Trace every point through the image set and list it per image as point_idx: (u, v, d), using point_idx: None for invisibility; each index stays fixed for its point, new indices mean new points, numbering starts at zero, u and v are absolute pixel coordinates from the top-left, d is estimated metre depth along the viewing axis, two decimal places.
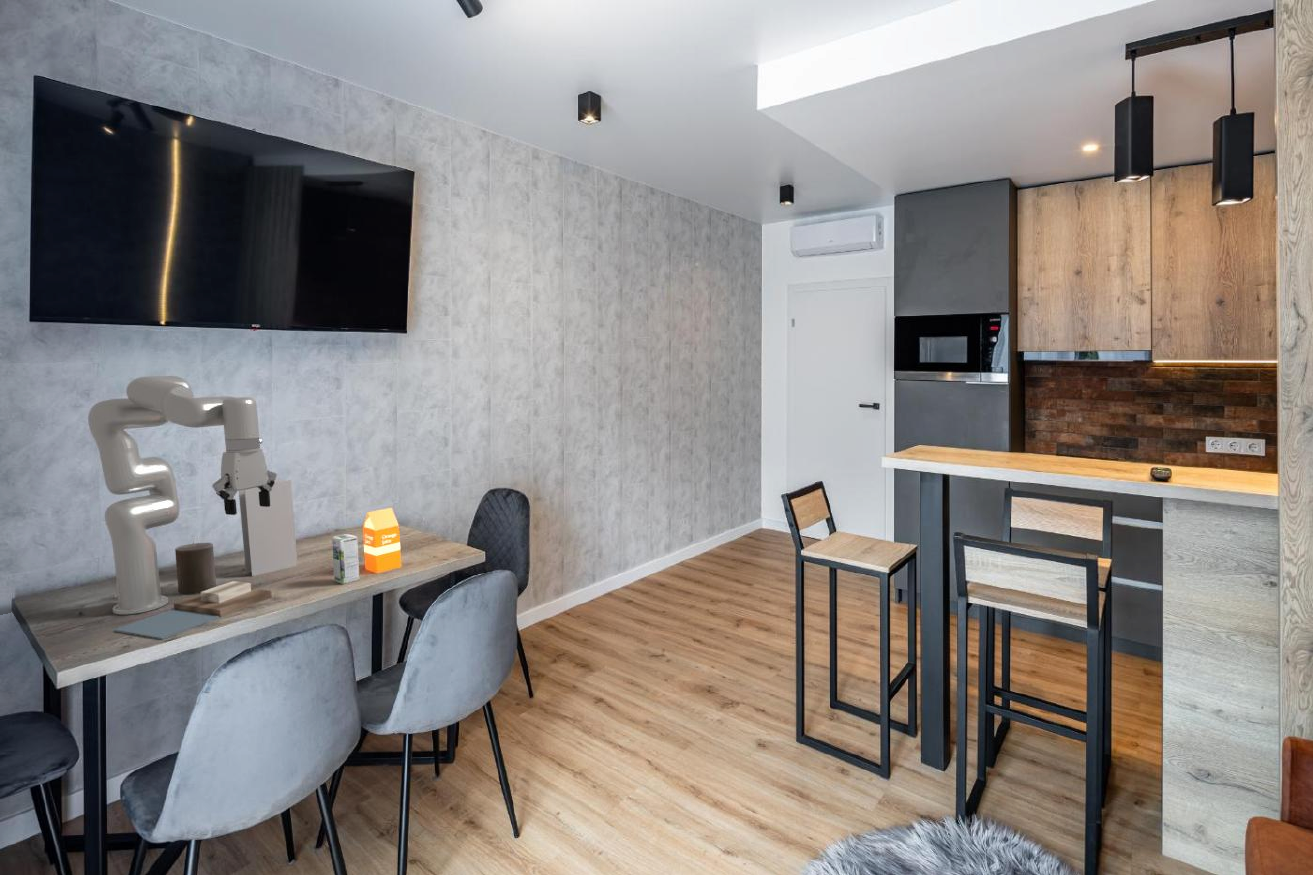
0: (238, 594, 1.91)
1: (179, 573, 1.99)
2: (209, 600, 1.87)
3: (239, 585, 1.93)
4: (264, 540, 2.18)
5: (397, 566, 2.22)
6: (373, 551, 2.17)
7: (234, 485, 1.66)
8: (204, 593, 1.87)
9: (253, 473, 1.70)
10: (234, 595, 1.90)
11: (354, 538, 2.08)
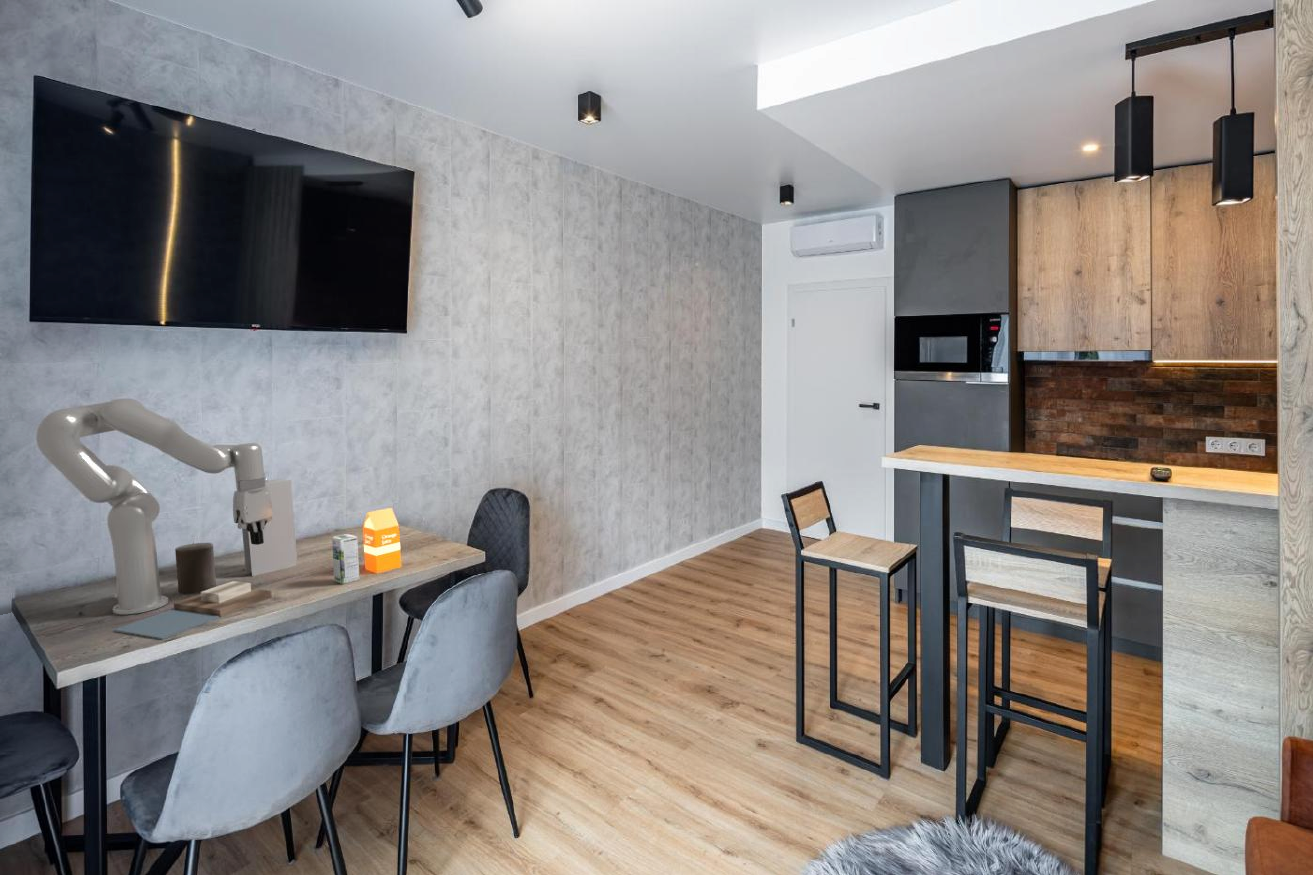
0: (238, 594, 1.91)
1: (179, 573, 1.99)
2: (209, 600, 1.87)
3: (239, 585, 1.93)
4: (264, 540, 2.18)
5: (397, 566, 2.22)
6: (373, 551, 2.17)
7: (244, 519, 1.94)
8: (204, 593, 1.87)
9: (260, 508, 1.98)
10: (234, 595, 1.90)
11: (354, 538, 2.08)
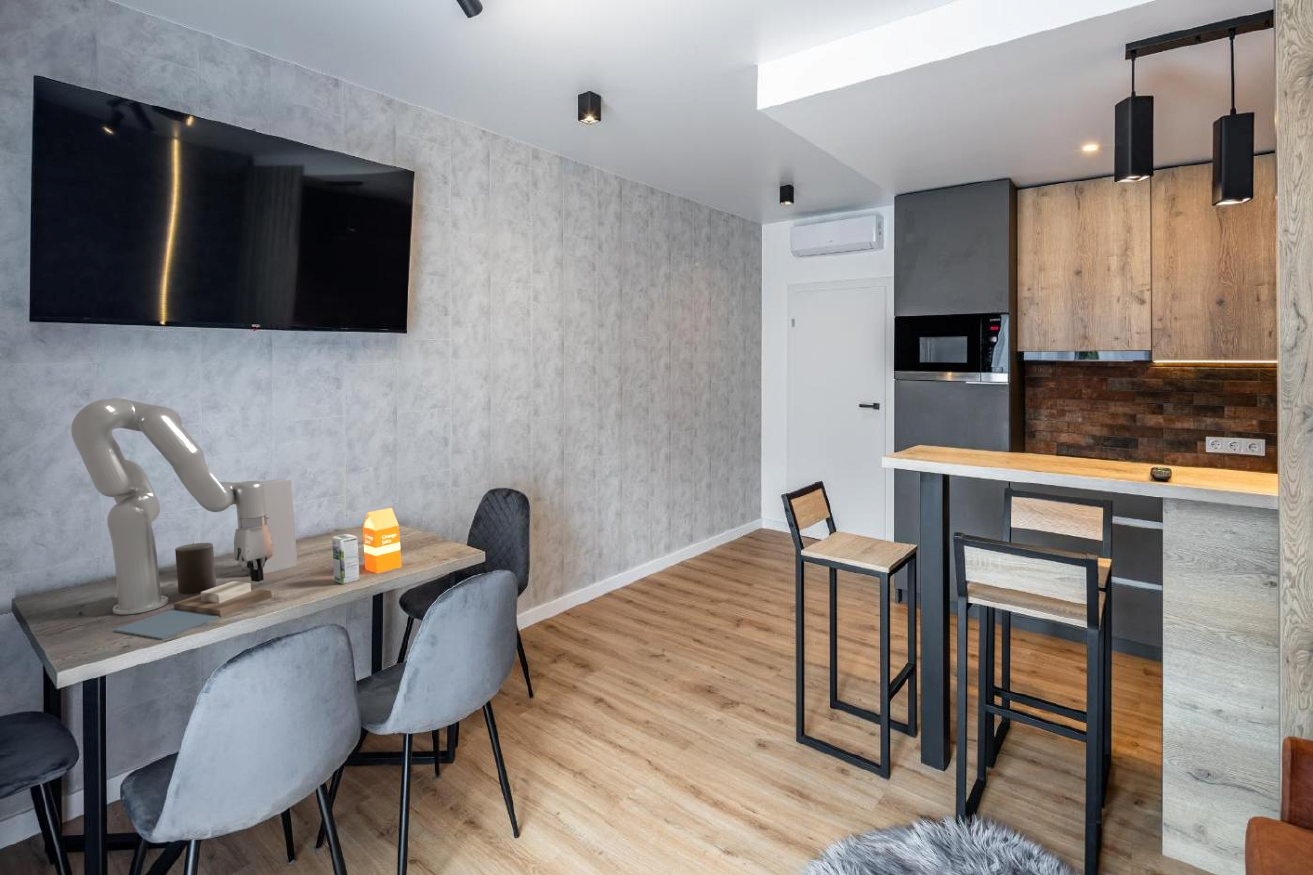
0: (238, 594, 1.91)
1: (179, 573, 1.99)
2: (209, 600, 1.87)
3: (239, 585, 1.93)
4: None
5: (397, 566, 2.22)
6: (373, 551, 2.17)
7: (245, 557, 1.95)
8: (204, 593, 1.87)
9: (261, 545, 1.99)
10: (234, 595, 1.90)
11: (354, 538, 2.08)
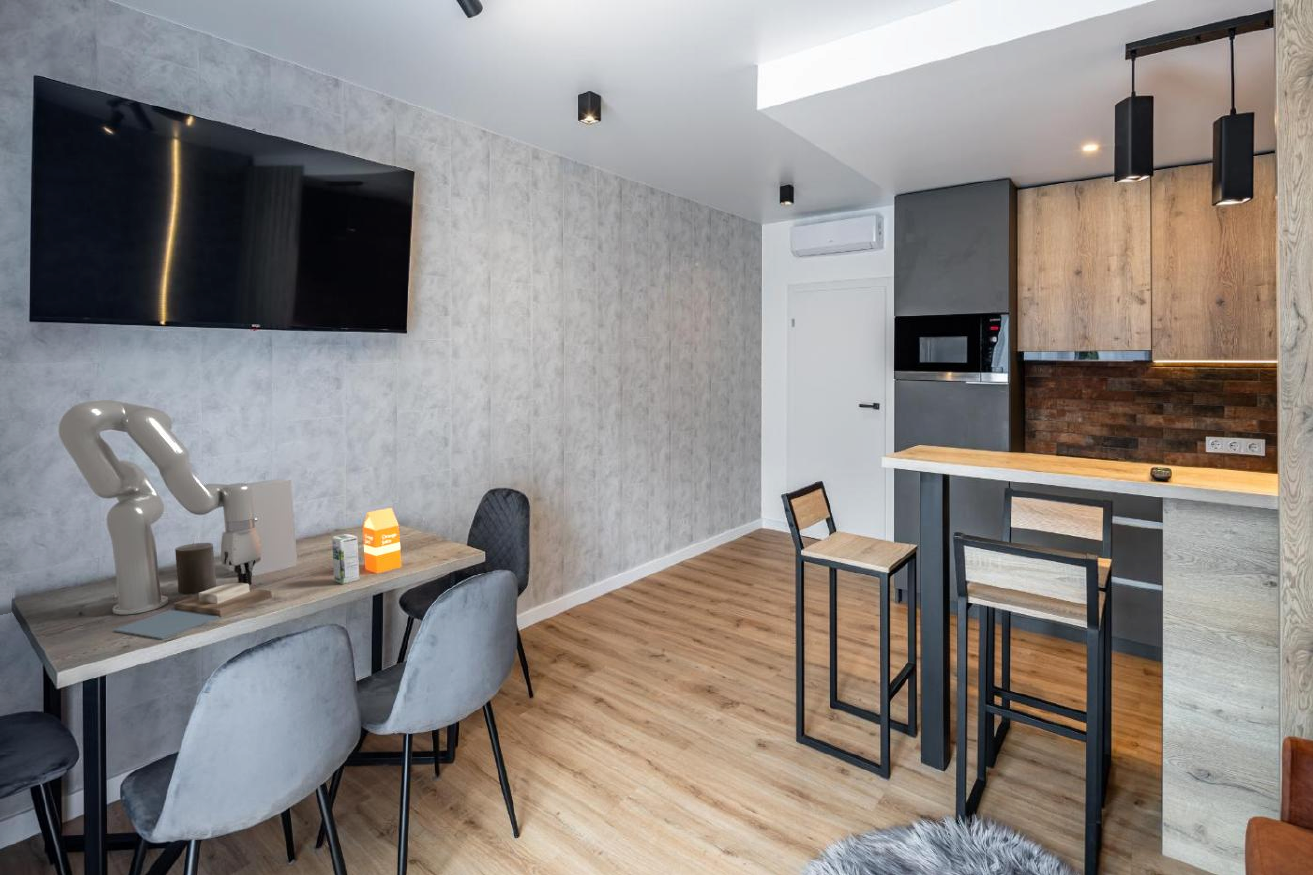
0: (236, 595, 1.91)
1: (179, 573, 1.99)
2: (207, 601, 1.86)
3: (238, 585, 1.93)
4: (264, 540, 2.18)
5: (397, 566, 2.22)
6: (373, 551, 2.17)
7: (232, 561, 1.91)
8: (202, 594, 1.87)
9: (249, 549, 1.95)
10: (232, 596, 1.89)
11: (354, 538, 2.08)
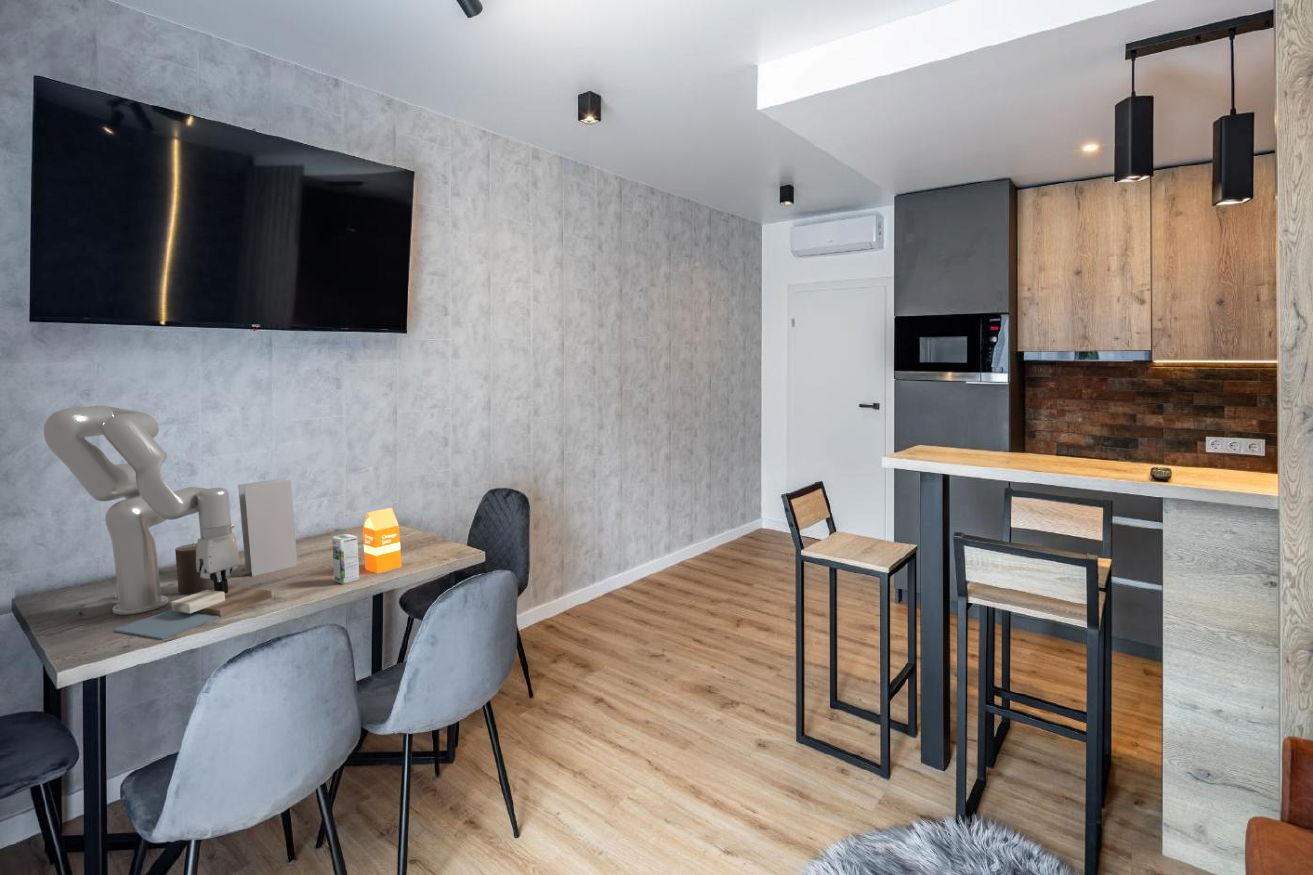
0: (211, 604, 1.84)
1: (179, 573, 1.99)
2: (180, 610, 1.79)
3: (213, 594, 1.86)
4: (264, 540, 2.18)
5: (397, 566, 2.22)
6: (373, 551, 2.17)
7: (208, 569, 1.84)
8: (175, 603, 1.80)
9: (225, 556, 1.88)
10: (206, 605, 1.82)
11: (354, 538, 2.08)
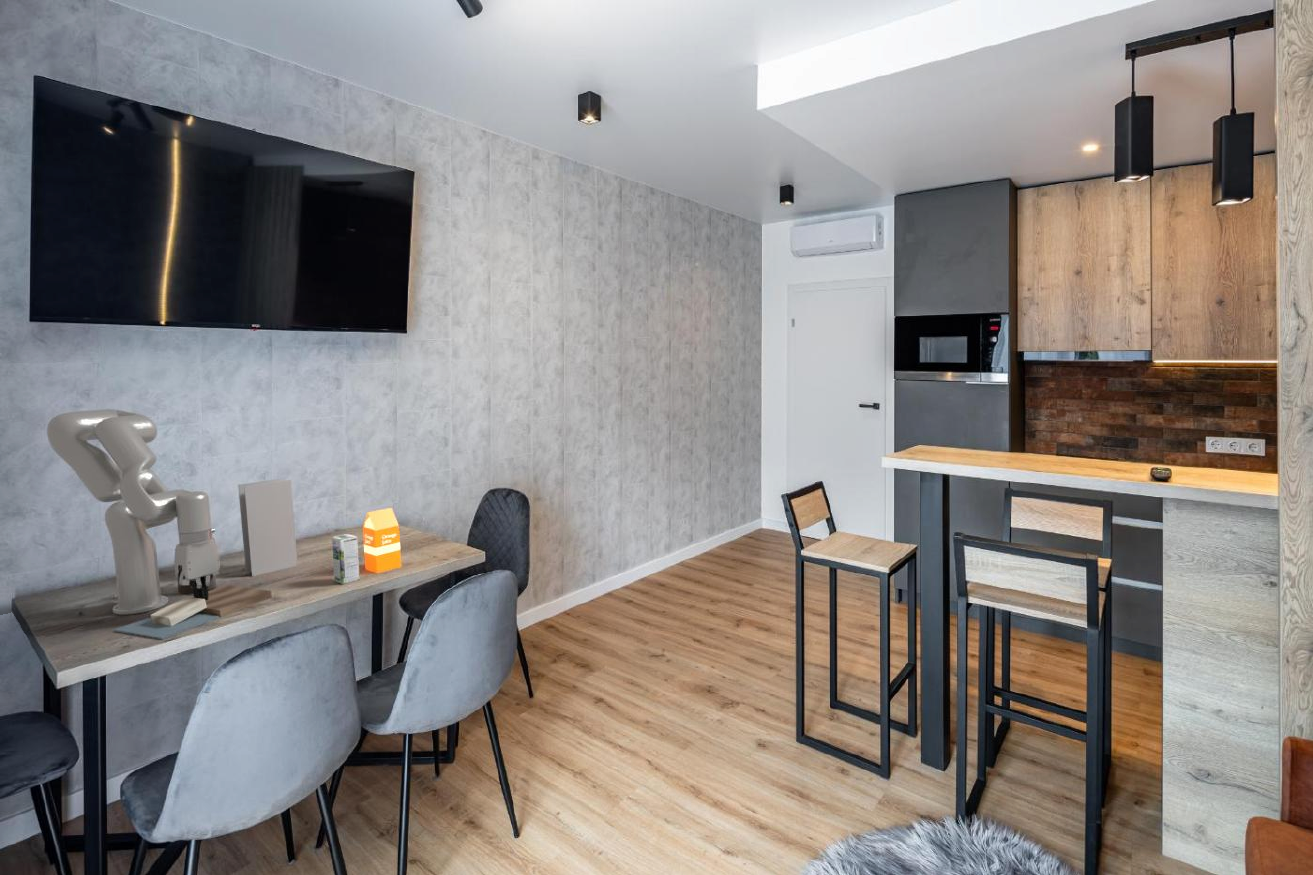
0: (192, 613, 1.78)
1: None
2: (161, 623, 1.74)
3: (193, 602, 1.80)
4: (264, 540, 2.18)
5: (397, 566, 2.22)
6: (373, 551, 2.17)
7: (187, 575, 1.78)
8: (154, 616, 1.74)
9: (205, 562, 1.83)
10: (188, 615, 1.77)
11: (354, 538, 2.08)
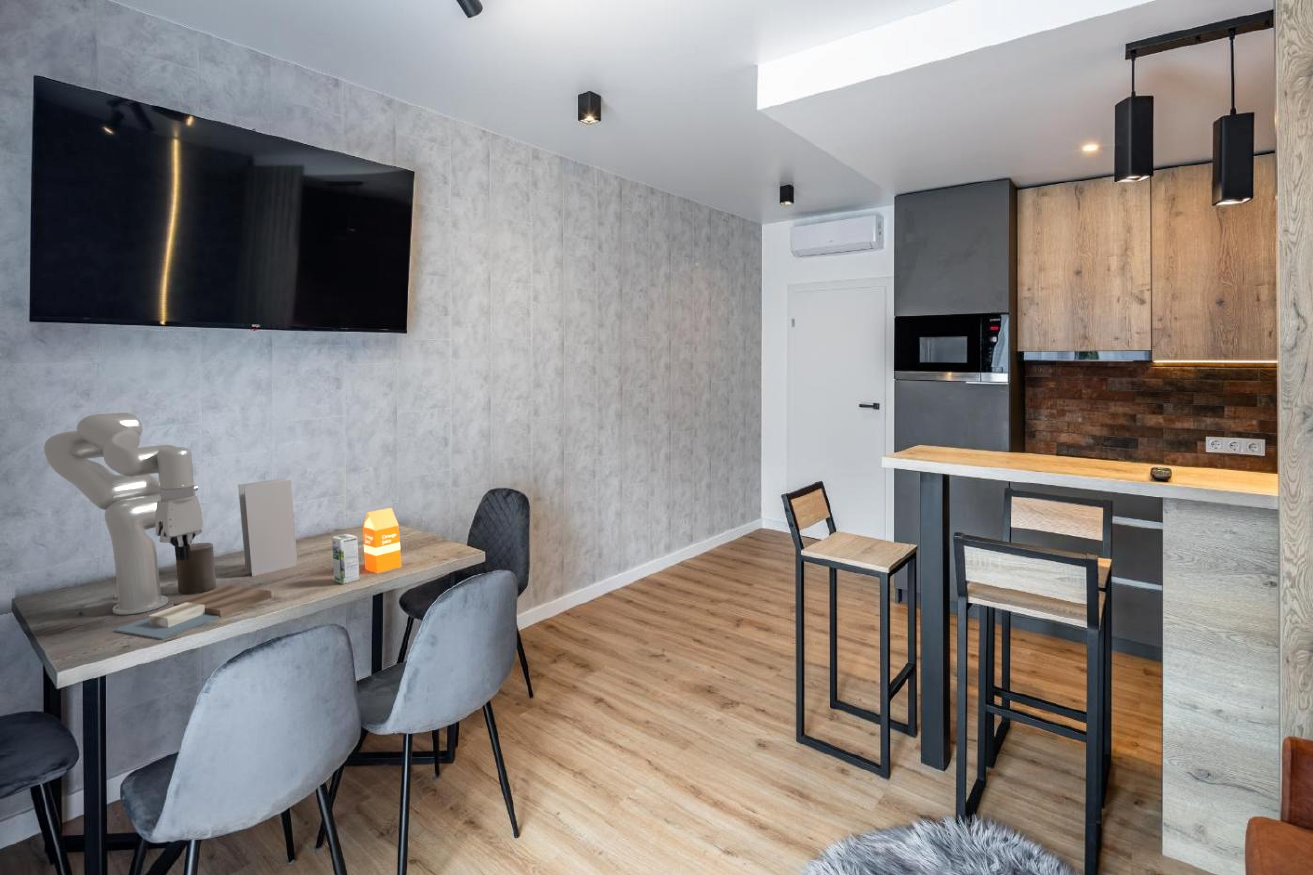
0: (190, 617, 1.78)
1: (179, 573, 1.99)
2: (158, 624, 1.73)
3: (192, 607, 1.80)
4: (264, 540, 2.18)
5: (397, 566, 2.22)
6: (373, 551, 2.17)
7: (167, 532, 1.74)
8: (152, 616, 1.74)
9: (187, 520, 1.78)
10: (186, 618, 1.77)
11: (354, 538, 2.08)
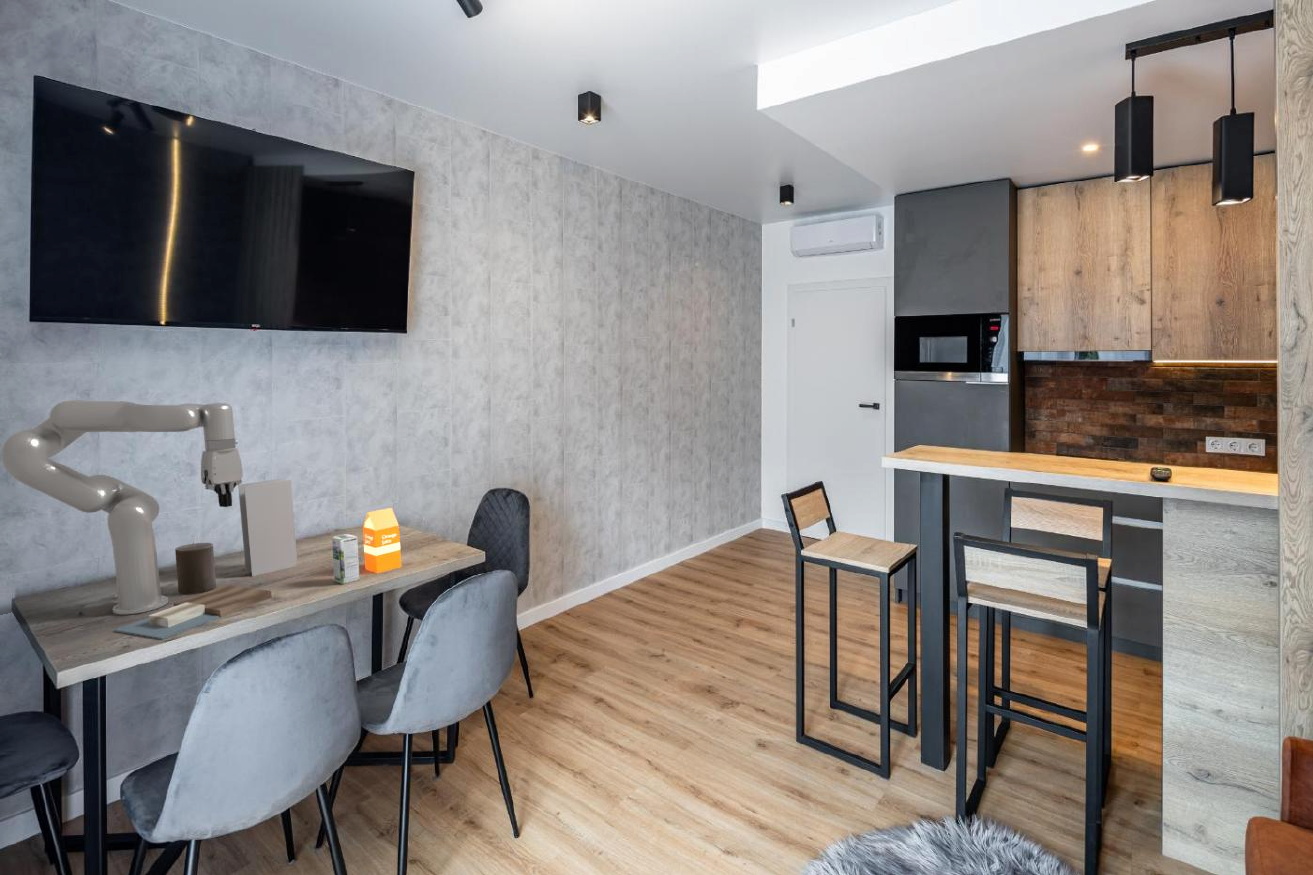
0: (190, 617, 1.78)
1: (179, 573, 1.99)
2: (158, 624, 1.73)
3: (192, 607, 1.80)
4: (264, 540, 2.18)
5: (397, 566, 2.22)
6: (373, 551, 2.17)
7: (212, 480, 1.90)
8: (152, 616, 1.74)
9: (229, 469, 1.94)
10: (186, 618, 1.77)
11: (354, 538, 2.08)
